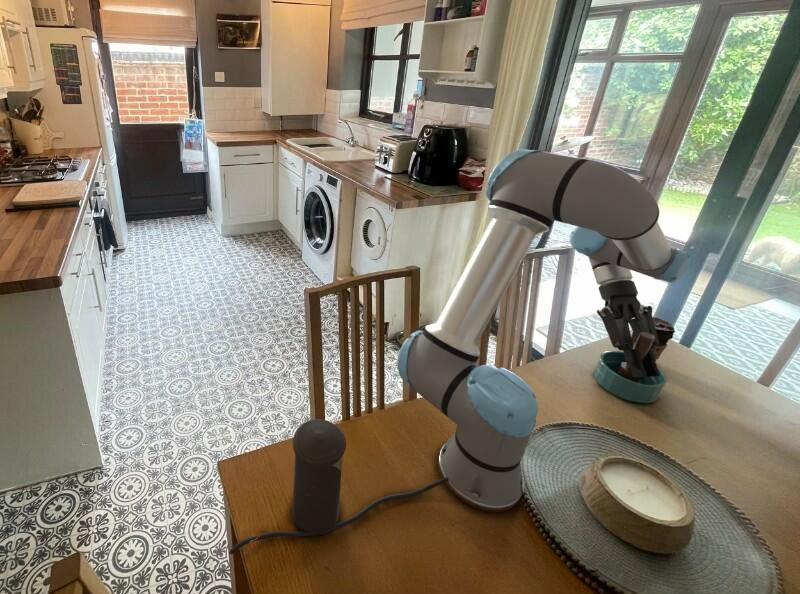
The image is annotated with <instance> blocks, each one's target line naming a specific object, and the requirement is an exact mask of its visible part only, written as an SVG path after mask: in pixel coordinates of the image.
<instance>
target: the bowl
mask: <svg viewBox="0 0 800 594" xmlns="http://www.w3.org/2000/svg"><path fill="white" fill-rule="evenodd" d="M623 362H627V361H626V359H625V355H624V352H623V351H622V350H621V351H620V350H607V351H604V352H602V353H601V354H600V355H599V358H598V360H597V363H596V365H595V368H594V370H593V375H594V376H593V377H594V379H595V381H596V382H597V383H598V384H599V386H601V387H602V388H603V389H604V390H606V391H607V392H608V393H610V394H612V395H614V396H615V397H618V398H620V399H622V400H625V401H628V402H633V403H639V404H650V403H655V402H656V401H657V400H658V399H659V397H660V396H661V394H662V392H663V390H664V388H665V386H666V384H667V382H668V379H667V378H668V377H667V376H666V374H665V372H664V371H663V370H662V369H660V367H659V366H657V368H658V371H659V374H660V376H653V377H647V375H646V377H641V378H640V380H639V382H638V383H636V382H633V381H631V380H628V379H625V378H623V377H621V376H619V375H617V373H618V370H619V368H620V366H621V364H622V363H623ZM642 365H643V364H642ZM643 368H644V366H643ZM644 371H645V369H644ZM645 374H646V372H645Z"/></svg>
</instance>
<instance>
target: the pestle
mask: <svg viewBox="0 0 800 594" xmlns="http://www.w3.org/2000/svg"><path fill="white" fill-rule="evenodd" d="M654 339H655V336H654V335H652V334H650V333H647V332H640V334H639V337H638V339H637V341H636V343H635V345H634V347H633V349H637V350H638V353H639V356H640V359H641V362H642V364H643V362H644V360H645V358H646V356H647V353H648V351H649V349H650V347H651V345H652V343H653V341H654ZM617 375H619V376H621V377H623V378H625V379H628V380H631V381H633V382H636V383H638V382H639V380H640V378H641V377H637V378H634V377H633V374H632V371H631V368H630V364H629V363H627V362H623V363H622V364H621V366H620V368H619V370H618V373H617Z"/></svg>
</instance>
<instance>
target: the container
mask: <svg viewBox="0 0 800 594" xmlns="http://www.w3.org/2000/svg"><path fill="white" fill-rule="evenodd" d="M292 448H293V452H294V467H293V470H294V472H293V491H292V507H291V508H292V509H291V510H292V511H291V512H292V515H291V516H292V519H293V522H294V524H295V526H296V527H297V528H298V530H300V532H304V531H305V532H309V533H312V534H314V535H312V537H313V536H314V537H315V536H316V537H318V536H323V535H325V534H327V533H328V532H327V531H328V530H329V529H330V528H331V527H333V526H334V525H335V524H337V522H338V519H339V513H340V500H341V485H342V484H341V482H342V468H343V457H344V454H345V452H346V449H347V439H346V436H345V433H344V432H343V430H342V429H341V428H340V427H339V426H338V425H337V424H335V423H334V422H331V421H330V420H326V419H320V418H317V419H316V418H315V419H310V420H309V419H308V420H306V421H304V422H303V423H301V424H300V425H299V426H298V427H297V428H296V430H295V432H294V434H293V437H292Z"/></svg>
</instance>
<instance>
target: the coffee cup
mask: <svg viewBox="0 0 800 594" xmlns="http://www.w3.org/2000/svg"><path fill="white" fill-rule="evenodd" d="M652 317H653V321H654V325H655V329H656V333H657V336H658V340H659V345H656V347H655V348H653V351H654V354H655V357H656V361H657V360H659V359H660V357H661V355H662V353H663V352H664V351H665V349H666V348H667V347H668V344H667V343H669V341H670V340H672V339H673V338H674V333H676V331H675V327H674V326H673V325H672V323H670V322H669V321H667V320H665V319H661V318H659V317H654V316H652ZM631 339H632V344H633V347H634V345H635V343H636V341H637V339H636V337H635V335H634V333H633V331H632V332H631Z"/></svg>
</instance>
